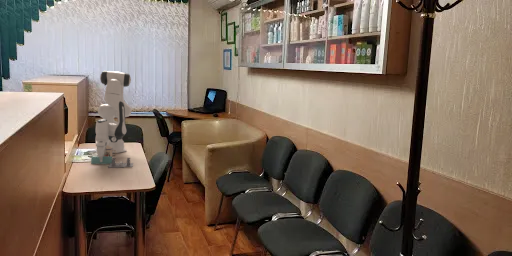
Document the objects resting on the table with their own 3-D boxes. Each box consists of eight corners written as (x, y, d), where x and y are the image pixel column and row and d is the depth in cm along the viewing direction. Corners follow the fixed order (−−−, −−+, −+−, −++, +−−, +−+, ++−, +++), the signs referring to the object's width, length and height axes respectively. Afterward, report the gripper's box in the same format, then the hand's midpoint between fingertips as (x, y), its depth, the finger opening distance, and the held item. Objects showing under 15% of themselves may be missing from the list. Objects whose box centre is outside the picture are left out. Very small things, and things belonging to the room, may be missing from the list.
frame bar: (91, 163, 299) (91, 156, 298) (112, 163, 302) (112, 156, 301) (91, 163, 296) (91, 157, 296) (111, 163, 300) (111, 157, 299)
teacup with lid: (98, 160, 306) (98, 145, 304) (100, 158, 315) (100, 143, 313) (115, 160, 308) (115, 145, 307) (117, 158, 317) (117, 143, 315)
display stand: (109, 164, 297) (110, 156, 296) (133, 164, 301) (133, 156, 300) (108, 167, 287) (108, 160, 286) (132, 167, 291) (132, 160, 290)
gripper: (99, 139, 306) (99, 157, 308) (95, 144, 287) (95, 164, 289) (108, 139, 308) (108, 157, 310) (105, 144, 288) (105, 164, 290)
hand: (102, 160), depth 299 cm, fingers open, 7 cm apart
